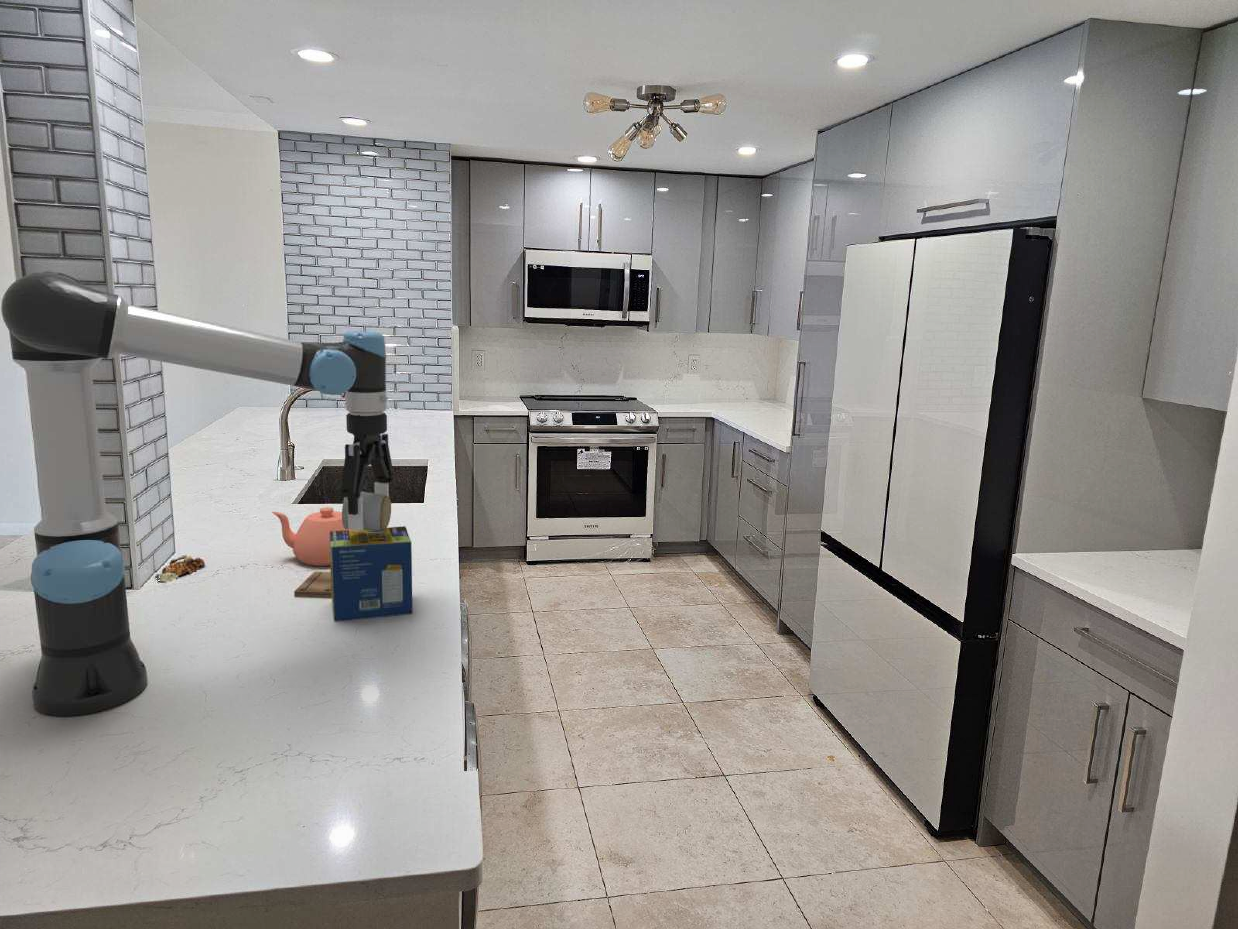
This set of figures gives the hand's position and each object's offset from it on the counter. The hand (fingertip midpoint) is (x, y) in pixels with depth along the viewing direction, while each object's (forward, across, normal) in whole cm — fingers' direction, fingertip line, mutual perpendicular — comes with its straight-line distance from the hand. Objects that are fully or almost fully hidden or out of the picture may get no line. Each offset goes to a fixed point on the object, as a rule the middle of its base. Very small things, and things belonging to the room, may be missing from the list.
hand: (369, 521), depth 160 cm
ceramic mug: (+1, 0, 0) cm, 2 cm away
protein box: (+19, 0, 0) cm, 19 cm away
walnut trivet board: (+18, +8, +15) cm, 25 cm away
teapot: (+19, +25, +24) cm, 39 cm away
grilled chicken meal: (+19, +8, +49) cm, 53 cm away
